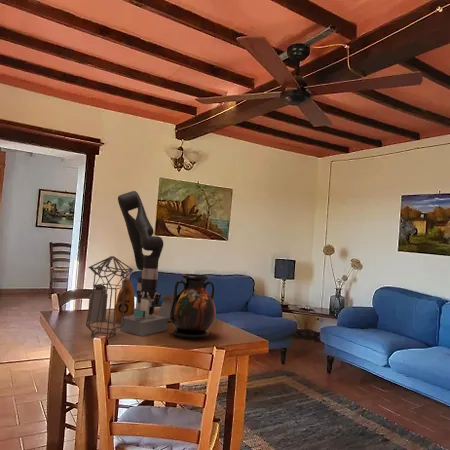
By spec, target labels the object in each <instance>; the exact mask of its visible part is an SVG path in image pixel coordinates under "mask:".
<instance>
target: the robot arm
mask: <svg viewBox="0 0 450 450" xmlns="http://www.w3.org/2000/svg"><path fill="white" fill-rule="evenodd" d="M117 202H118V205H119V208H120V211H121V214H122V217H123V219H124V222H125V226H126V229H127V234H128V237H129V241H130V244H131V247H132V250H133V251H132V252H133V256H134V261H135V266H136V268H137V270H138V271H141V276H140V277H138V278H137V286H136V288H137V289H136V299H135V309H138V310H140V307H141V297H147V298H149V302H150V307H149V314H150V315H151V314H153V313H155V312H154V311H155V307H157V306H158V305H159V303H160V299H161V296H162V293H158V292H157V288H158V279H159V277H158V276H159V270H158V268H159V259H160V257H161V254H162V251H163V250H164V249H163V248H164V240H163V238H162V237H161V236H158V235H157V236H153V235H154V228H153V226H152V224H151V223H150V220H149V219H148V216H147V213H146V211H145V207H144V204H143V202H142V199H141V196H140V194H139V193H138V192H137V191H136V190H132V191H128V192H125V193H122V194H119V195H118V197H117ZM135 209H137V213H136V217H135V218H134V217H133V216H132V215H131V214H130V213H129V211H132V210H135ZM143 250H144V251H151V253H150V254H144V253H143ZM152 298H153V300H151V299H152ZM153 315H154V314H153Z"/></svg>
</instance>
